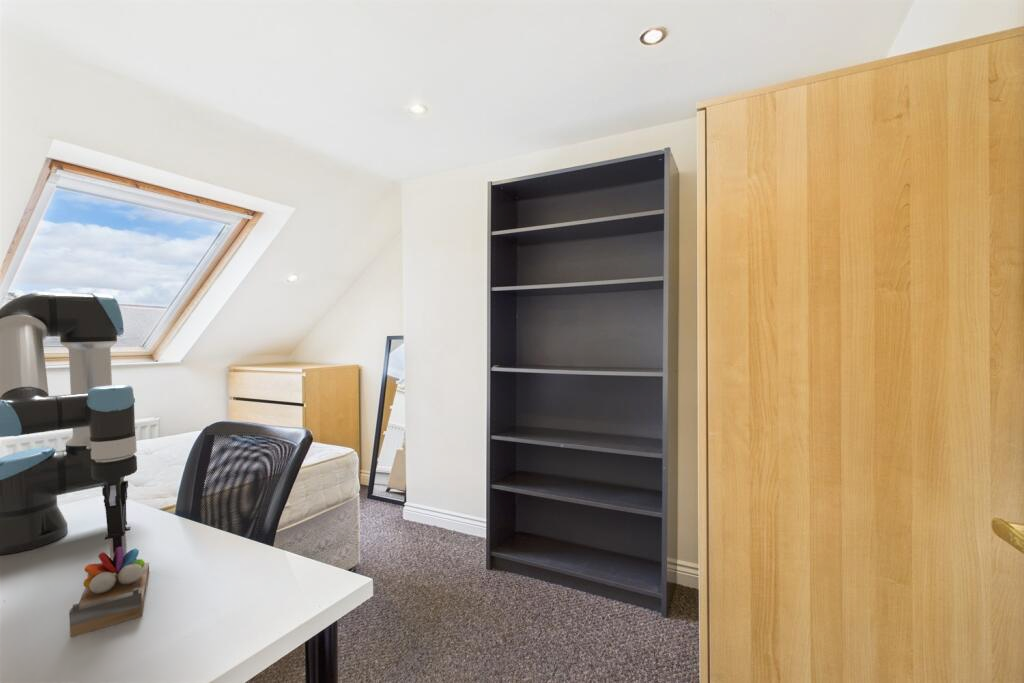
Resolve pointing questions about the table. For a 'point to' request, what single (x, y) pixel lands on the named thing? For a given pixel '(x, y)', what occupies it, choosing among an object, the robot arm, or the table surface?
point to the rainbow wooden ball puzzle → (113, 570)
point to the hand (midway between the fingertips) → (119, 564)
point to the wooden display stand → (109, 605)
